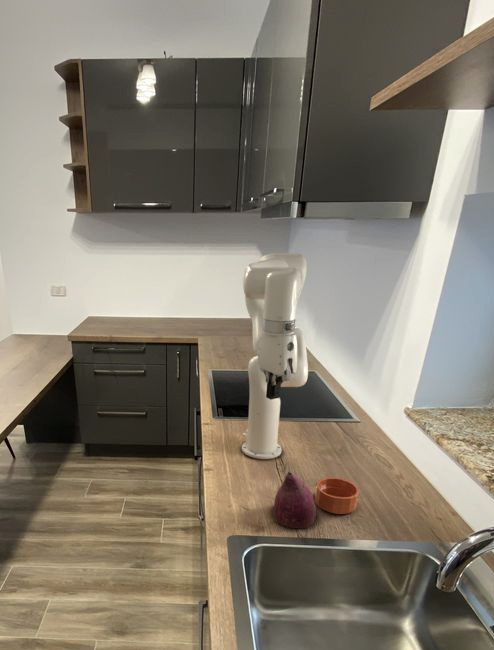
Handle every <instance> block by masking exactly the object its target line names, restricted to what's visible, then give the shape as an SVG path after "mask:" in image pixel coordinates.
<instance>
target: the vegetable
mask: <svg viewBox="0 0 494 650" xmlns="http://www.w3.org/2000/svg"><path fill="white" fill-rule="evenodd" d="M316 509H317V508H316V502H315V497H314V496H313V493H312V491H311V490H310V488H309V486H308V485H307V484H306V483H305V482H304V481H303V480H301V479H300V477H299V476H298V475H297V474H295V473H294V472H292V471H290V470H287V473H286V474H285V477H284V479H283V481H282V483H281V485H280V487H279V488H278V490H277V492H276V494H275V497H274V502H273V519H274V520H275V522H277V523H278V524H280V525H283V526H284V527H287V528H290V529H307V528H309V527H311V526H312V525H314V523H315V521H316V517H317V510H316Z"/></svg>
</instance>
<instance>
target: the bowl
mask: <svg viewBox="0 0 494 650" xmlns="http://www.w3.org/2000/svg"><path fill="white" fill-rule="evenodd" d="M359 495H360V490H359V487H358V486H357V485H356V484H355V483H354V482H351V481H350V480H347V479H344V478H341V477H333V476H332V477H324V478H321V479H320V480H318V481H317V482H316V487H315V495H314V502H315V505H316V506H318V507H319V508H320V509H322V510H323V511H325V512H327V513H332V514H336V515H346V514H350V513H352V512H353V513H354V511H355V510H356V509H357V507H358V501H359Z"/></svg>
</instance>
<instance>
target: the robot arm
mask: <svg viewBox="0 0 494 650" xmlns="http://www.w3.org/2000/svg"><path fill="white" fill-rule="evenodd" d="M307 271H308V265H307V259H306V257H305V256H304V255H303V254H301V253H299V252H298V253H297V252H293V253H292V252H291V253H290V252H287V253H283V252H282V253H279V252H277V253H267V254H265V255H263V256H262V257H260V259H258V261H257V262H252V263H249V264H248V265H246V267H245V269H244V271H243V277H242V289H243V293H244V300H245V307H246V310H247V313H248V315H249V317H250V320H251V323H252V324H251V325H252V350H253V353H254V354H255V356H253V357H251V358H250V359H249V362H248V366H247V373H248V385H249V386H248V387H249V400H248V418H247V429H245V432H243V433H242V435H241V436H242V437H243V438H244V439H245V442H243V443H242V445H241V451H242V453H244V454H245V455H246V456H248V457H250V458H253V459H258V460H271V459H276V458H278V457H279V456H281V454H282V450H283V449H282V447H281V445H280V444H279V443H278V437H279V427H280V425H279V424H280V413H281V389H282V388H299V387H303V386H305V384H306V383H307V381H308V376H309V365H308V363H309V362H308V354H307V353H308V352H307V351H308V350H307V342H306V336H305V333H304V331H303V330H302V329H300V328H297V326H296V319H297V307H298V301H299V300H300V297H301V294H302V291H303V288H304V285H305V282H306V281H305V280H306V277H307Z"/></svg>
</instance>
